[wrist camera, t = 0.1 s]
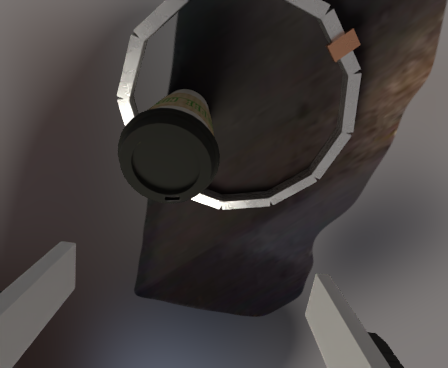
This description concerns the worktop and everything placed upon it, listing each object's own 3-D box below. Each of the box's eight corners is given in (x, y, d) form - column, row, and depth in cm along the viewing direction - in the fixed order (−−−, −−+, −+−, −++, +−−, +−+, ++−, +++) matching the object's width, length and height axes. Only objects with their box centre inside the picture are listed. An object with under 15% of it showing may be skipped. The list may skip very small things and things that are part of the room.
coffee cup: (219, 71, 36) (214, 111, 24) (224, 143, 41) (222, 207, 29) (143, 76, 37) (97, 118, 24) (157, 146, 42) (126, 210, 29)
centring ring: (283, -110, 27) (288, -121, 25) (391, 131, 40) (402, 139, 38) (77, 86, 37) (66, 92, 35) (216, 228, 50) (215, 239, 48)
